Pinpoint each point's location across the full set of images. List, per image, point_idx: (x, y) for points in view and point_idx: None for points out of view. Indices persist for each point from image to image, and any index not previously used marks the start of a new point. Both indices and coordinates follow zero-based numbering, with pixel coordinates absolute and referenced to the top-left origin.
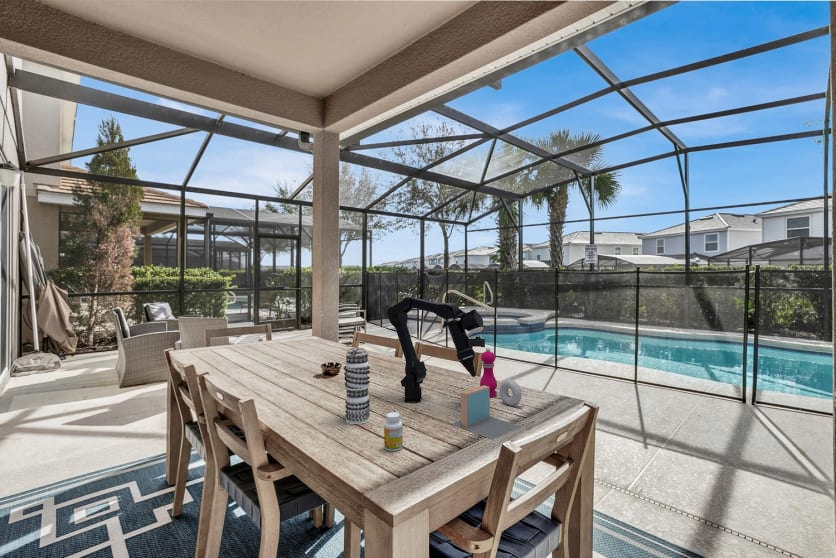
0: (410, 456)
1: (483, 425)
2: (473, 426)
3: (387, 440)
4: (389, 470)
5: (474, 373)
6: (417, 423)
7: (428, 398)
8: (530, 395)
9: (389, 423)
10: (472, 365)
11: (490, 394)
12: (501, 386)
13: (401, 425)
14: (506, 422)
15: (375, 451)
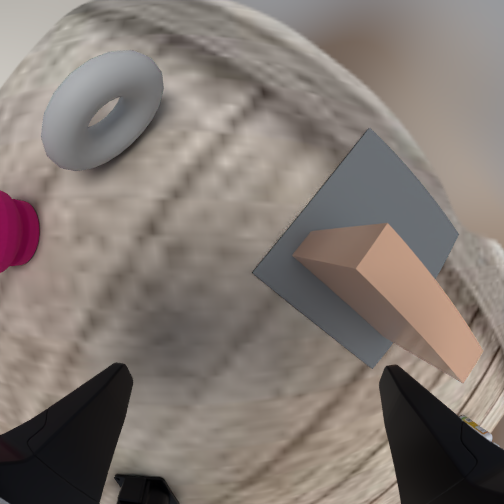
0: (482, 388)
1: None
2: None
3: None
4: (499, 394)
5: (412, 383)
6: (351, 451)
7: (113, 455)
8: (35, 82)
9: None
10: (472, 440)
11: (32, 223)
12: (70, 148)
13: (488, 434)
14: (345, 168)
15: None
